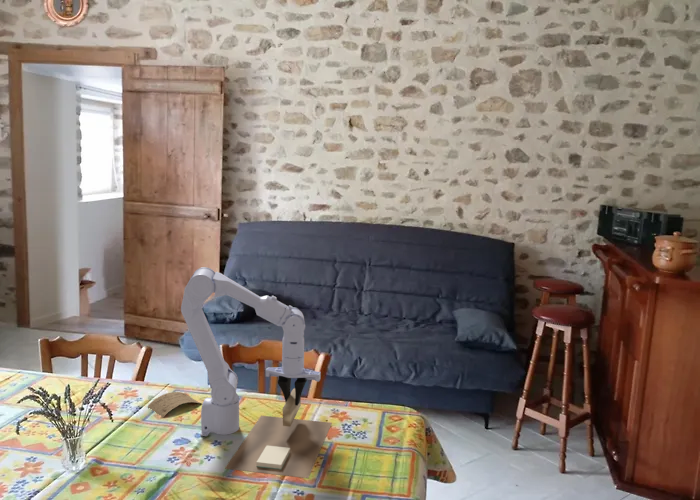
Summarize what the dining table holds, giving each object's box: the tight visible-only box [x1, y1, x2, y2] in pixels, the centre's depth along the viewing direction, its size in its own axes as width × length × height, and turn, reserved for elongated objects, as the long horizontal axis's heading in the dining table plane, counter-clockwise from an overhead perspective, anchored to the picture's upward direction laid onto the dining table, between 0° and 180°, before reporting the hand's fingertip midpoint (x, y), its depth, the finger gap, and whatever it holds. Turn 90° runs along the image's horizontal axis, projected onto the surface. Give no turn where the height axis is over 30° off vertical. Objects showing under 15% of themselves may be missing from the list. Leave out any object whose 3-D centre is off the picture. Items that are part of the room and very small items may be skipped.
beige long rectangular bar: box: [282, 387, 302, 427], centre depth 162 cm, size 2×11×5 cm, turn 170°
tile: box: [256, 445, 290, 469], centre depth 147 cm, size 6×1×8 cm
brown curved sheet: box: [147, 391, 200, 418], centre depth 177 cm, size 14×10×3 cm
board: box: [224, 415, 332, 479], centre depth 154 cm, size 20×28×1 cm
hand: (292, 403), depth 163 cm, fingers closed on beige long rectangular bar, 2 cm apart
